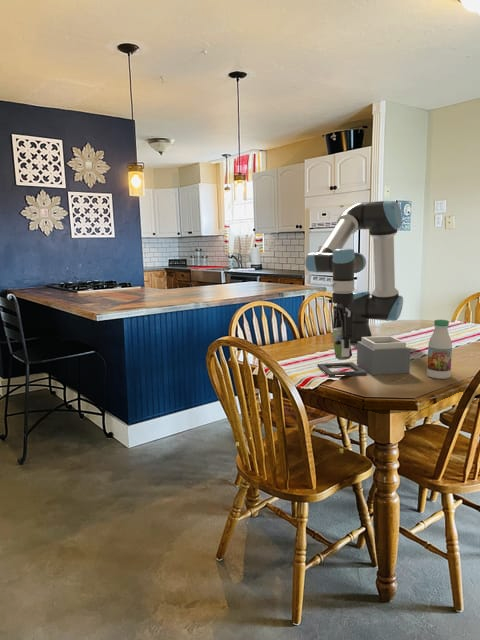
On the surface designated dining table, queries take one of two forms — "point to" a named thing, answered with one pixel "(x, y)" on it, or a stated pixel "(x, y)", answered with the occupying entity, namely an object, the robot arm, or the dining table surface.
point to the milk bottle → (439, 351)
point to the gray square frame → (351, 373)
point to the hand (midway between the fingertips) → (341, 353)
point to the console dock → (383, 355)
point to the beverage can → (339, 344)
